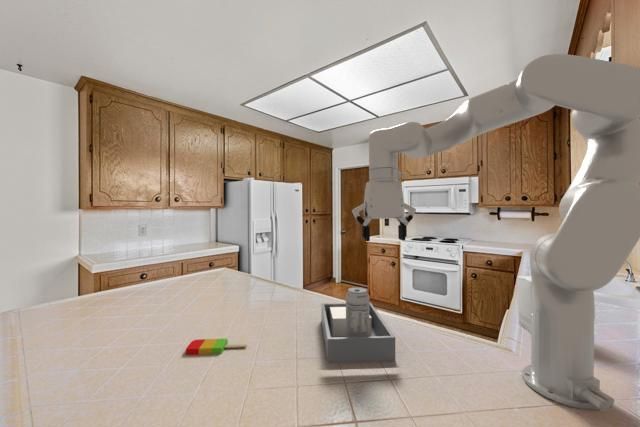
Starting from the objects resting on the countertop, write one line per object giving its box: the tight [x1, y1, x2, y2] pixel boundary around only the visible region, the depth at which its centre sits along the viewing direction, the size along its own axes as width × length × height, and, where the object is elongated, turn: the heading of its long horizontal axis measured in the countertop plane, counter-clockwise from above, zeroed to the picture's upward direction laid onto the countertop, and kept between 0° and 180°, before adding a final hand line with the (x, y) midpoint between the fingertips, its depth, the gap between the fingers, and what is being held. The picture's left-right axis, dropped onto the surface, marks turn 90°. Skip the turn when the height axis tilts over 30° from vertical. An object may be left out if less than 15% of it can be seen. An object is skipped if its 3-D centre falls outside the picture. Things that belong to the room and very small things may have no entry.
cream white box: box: [330, 307, 371, 336], centre depth 81 cm, size 9×11×5 cm
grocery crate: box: [321, 302, 396, 364], centre depth 75 cm, size 24×16×6 cm, turn 3°
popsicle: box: [185, 338, 248, 356], centre depth 71 cm, size 6×15×2 cm, turn 94°
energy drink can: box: [345, 286, 370, 337], centre depth 70 cm, size 6×6×15 cm
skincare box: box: [516, 275, 532, 333], centre depth 82 cm, size 8×7×16 cm
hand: (384, 240), depth 73 cm, fingers open, 9 cm apart
